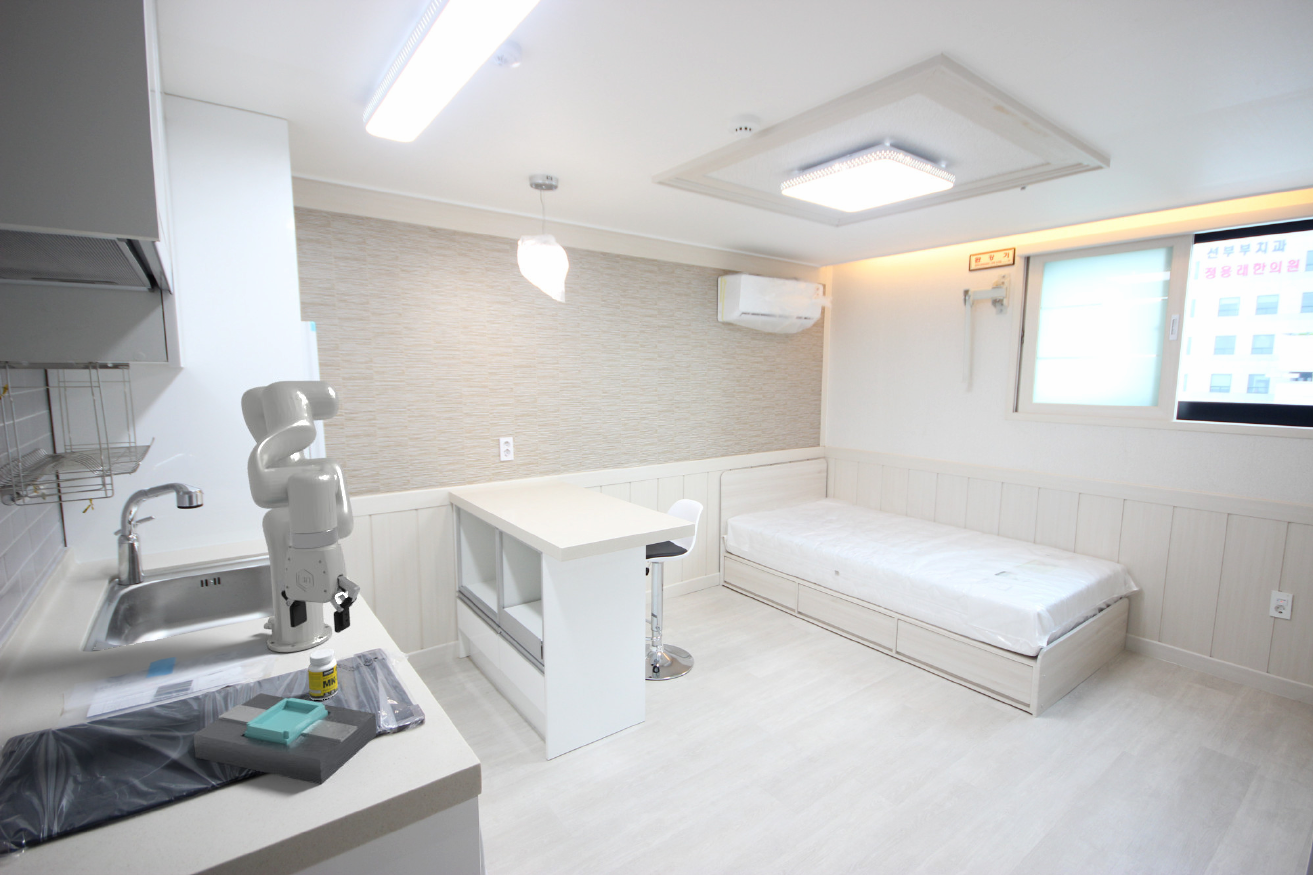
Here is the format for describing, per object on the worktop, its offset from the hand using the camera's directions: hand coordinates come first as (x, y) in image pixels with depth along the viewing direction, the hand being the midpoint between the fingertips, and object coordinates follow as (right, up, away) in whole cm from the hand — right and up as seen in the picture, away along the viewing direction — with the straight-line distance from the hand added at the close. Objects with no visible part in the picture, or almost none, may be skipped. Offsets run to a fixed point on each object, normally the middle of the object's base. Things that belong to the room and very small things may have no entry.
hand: (320, 626), depth 109 cm
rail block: (+2, -16, -13) cm, 20 cm away
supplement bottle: (-1, -14, +2) cm, 14 cm away
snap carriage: (+2, -13, -13) cm, 19 cm away
